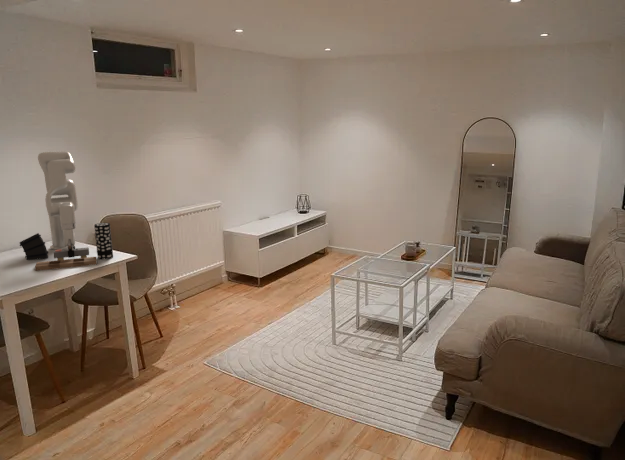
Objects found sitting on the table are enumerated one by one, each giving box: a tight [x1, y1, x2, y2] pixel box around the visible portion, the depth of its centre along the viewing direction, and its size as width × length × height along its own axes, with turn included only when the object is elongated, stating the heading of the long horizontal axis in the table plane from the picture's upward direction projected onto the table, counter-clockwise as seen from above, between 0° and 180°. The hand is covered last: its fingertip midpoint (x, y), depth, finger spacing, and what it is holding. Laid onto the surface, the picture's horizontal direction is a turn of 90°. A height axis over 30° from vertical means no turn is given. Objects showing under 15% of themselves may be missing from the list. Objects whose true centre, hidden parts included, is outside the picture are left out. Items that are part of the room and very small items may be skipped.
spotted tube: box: [94, 222, 114, 261], centre depth 280 cm, size 8×8×20 cm
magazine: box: [19, 232, 49, 261], centre depth 278 cm, size 4×13×15 cm, turn 104°
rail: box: [34, 256, 98, 272], centre depth 267 cm, size 8×30×2 cm, turn 113°
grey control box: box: [53, 246, 90, 260], centre depth 277 cm, size 4×18×7 cm, turn 113°
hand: (72, 255), depth 276 cm, fingers open, 9 cm apart
